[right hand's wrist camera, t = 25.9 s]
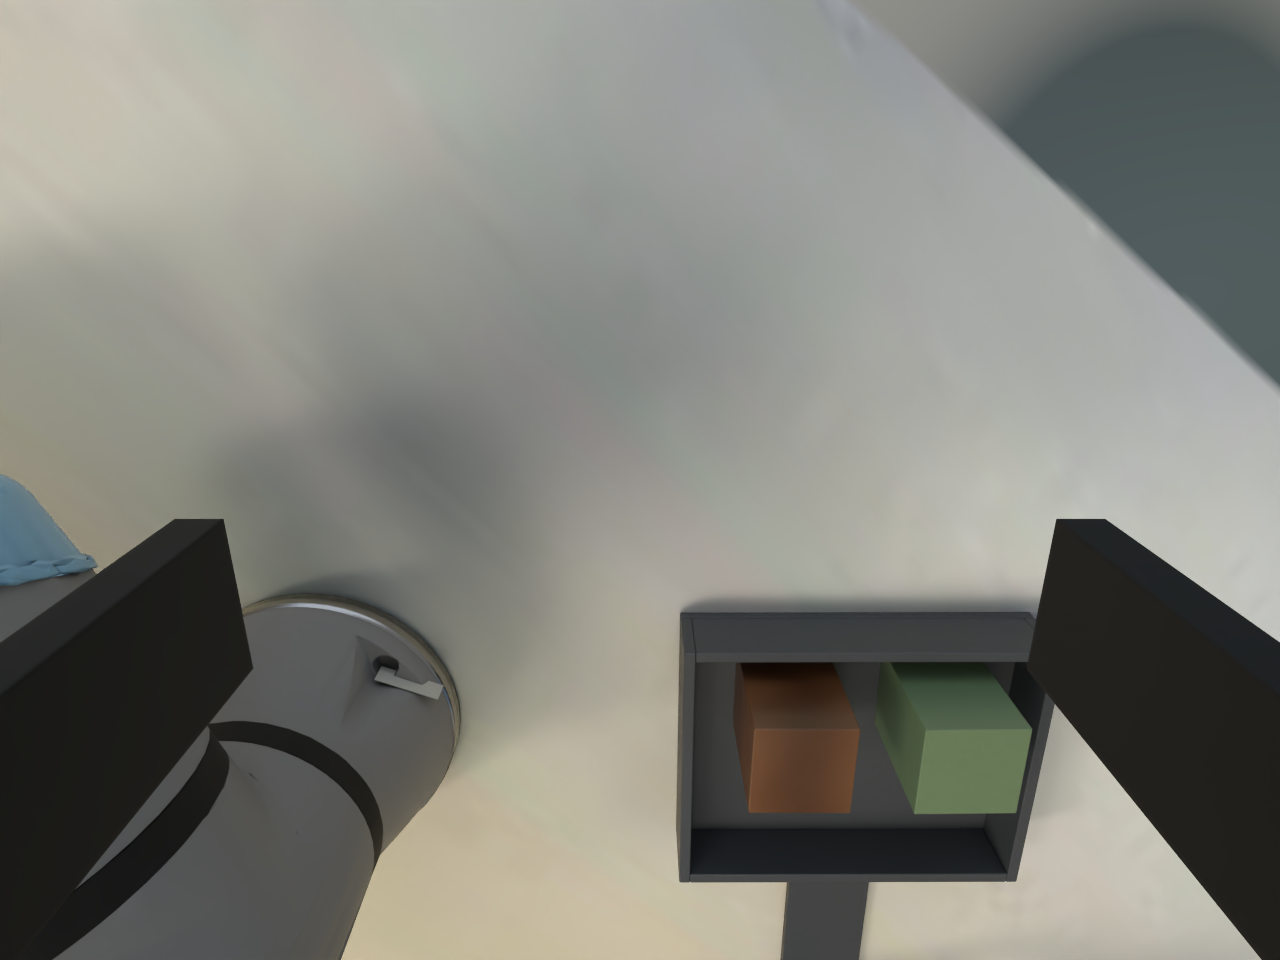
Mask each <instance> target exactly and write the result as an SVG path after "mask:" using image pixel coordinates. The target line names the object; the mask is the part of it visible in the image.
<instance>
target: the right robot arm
mask: <svg viewBox="0 0 1280 960" xmlns="http://www.w3.org/2000/svg"><path fill="white" fill-rule="evenodd" d="M96 567H98V566H97V564H96V562H95V560H94V559H93V557H92V556H89V555H85V554H82V553H80V551H79V550H78V549H77V548H76V547H75V545H74V544H73V543H72V542H71V541H70V539H69V538H68V537H67V536H66V535H65V533H64V532H63V531H62V530H61V529H60V527H59V526H58V525H57V524H56V523H55V521H54V520H53V519H52V518H51V517H50V515H49V514H48V513H47V512H46V510H45V509H44V508H43V507H42V506H41V504H40V503H39V502H38V501H37V499H36V498H35V497H34V496H33V495H32V494H31V493H30V492H29V491H28V490H27V489H26V488H25V487H24V486H23V485H21V484H20V483H18V482H17V481H15V480H13V479H11V478H9V477H7V476H4V475H1V474H0V960H341V958H342V955H343V952H344V949H345V947H346V944H347V941H348V939H349V936H350V933H351V930H352V928H353V925H354V922H355V920H356V917H357V914H358V911H359V909H360V906H361V903H362V901H363V898H364V895H365V892H366V890H367V887H368V884H369V882H370V879H371V876H372V874H373V871H374V868H375V866H376V863H377V861H378V858H379V856H380V854H381V853H382V852H383V851H384V850H385V849H386V848H387V847H388V845H389V844H390V843H391V842H392V841H393V840H394V839H395V838H396V837H397V835H398V834H399V833H400V832H401V831H402V830H403V829H404V827H405V826H406V825H407V824H408V823H409V822H410V820H411V819H412V818H413V817H414V816H415V814H416V813H417V812H418V811H419V810H420V809H421V808H423V807H424V806H425V805H426V804H427V802H428V801H429V800H430V799H431V797H432V796H433V795H434V793H435V792H436V790H437V788H438V787H439V785H440V783H441V782H442V780H443V778H444V777H445V774H446V772H447V770H448V768H449V765H450V762H451V759H452V756H453V753H454V750H455V747H456V744H457V740H458V735H459V727H460V711H459V705H458V699H457V696H456V692H455V689H454V686H453V683H452V681H451V678H450V677H449V675H448V673H447V671H446V669H445V667H444V666H443V664H442V663H441V661H440V659H439V658H438V657H437V655H436V654H435V653H434V652H433V650H432V649H431V648H430V647H429V646H428V645H427V644H426V643H425V642H424V641H423V640H422V639H421V638H420V637H419V636H418V635H417V634H416V633H415V632H413V631H412V630H411V629H410V628H408V627H407V626H405V625H404V624H403V623H401V622H400V621H398V620H397V619H395V618H393V617H392V616H390V615H388V614H386V613H384V612H382V611H380V610H378V609H376V608H374V607H371V606H369V605H366V604H364V603H360V602H357V601H354V600H351V599H347V598H342V597H337V596H331V595H323V594H292V595H285V596H279V597H274V598H270V599H266V600H263V601H260V602H257V603H255V604H252V605H250V606H248V607H246V608H244V609H241V604H240V599H239V594H238V589H237V584H236V579H235V574H234V569H233V564H232V559H231V554H230V549H229V544H228V539H227V534H226V529H225V524H224V519H174V520H173V521H171V522H170V523H169V524H167V525H166V526H164V527H163V528H162V529H160V530H159V531H157V532H156V533H154V534H153V535H152V536H150V537H149V538H147V539H146V540H145V541H143V542H142V543H140V544H139V545H137V546H136V547H135V548H133V549H132V550H130V551H129V552H128V553H126V554H125V555H123V556H122V557H121V558H119V559H118V560H116V561H115V562H113V563H112V564H111V565H109V566H108V567H106V568H105V569H104V570H102V571H101V572H99V573H98V574H96V573H95V571H94V570H93V569H92V568H96ZM1027 670H1028V671H1029V672H1030V673H1031V675H1032V676H1033V677H1034V678H1035V680H1036V681H1037V682H1038V683H1039V685H1040V686H1041V687H1042V688H1043V690H1044V691H1045V692H1046V693H1047V694H1048V696H1049V697H1050V698H1051V699H1052V701H1053V702H1054V703H1055V704H1056V706H1057V707H1058V708H1059V709H1060V711H1061V712H1062V713H1063V714H1064V716H1065V717H1066V718H1067V719H1068V720H1069V722H1070V723H1071V724H1072V725H1073V727H1074V728H1075V729H1076V730H1077V732H1078V733H1079V734H1080V735H1081V737H1082V738H1083V739H1084V740H1085V742H1086V743H1087V744H1088V745H1089V746H1090V748H1091V749H1092V750H1093V751H1094V753H1095V754H1096V755H1097V756H1098V758H1099V759H1100V760H1101V761H1102V763H1103V764H1104V765H1105V766H1106V768H1107V769H1108V770H1109V771H1110V772H1111V774H1112V775H1113V776H1114V777H1115V779H1116V780H1117V781H1118V782H1119V784H1120V785H1121V786H1122V787H1123V789H1124V790H1125V791H1126V792H1127V793H1128V795H1129V796H1130V797H1131V798H1132V800H1133V801H1134V802H1135V803H1136V805H1137V806H1138V807H1139V808H1140V810H1141V811H1142V812H1143V813H1144V815H1145V816H1146V817H1147V818H1148V819H1149V821H1150V822H1151V823H1152V824H1153V826H1154V827H1155V828H1156V829H1157V831H1158V832H1159V833H1160V834H1161V836H1162V837H1163V838H1164V839H1165V841H1166V842H1167V843H1168V844H1169V845H1170V847H1171V848H1172V849H1173V850H1174V852H1175V853H1176V854H1177V855H1178V857H1179V858H1180V859H1181V860H1182V862H1183V863H1184V864H1185V865H1186V867H1187V868H1188V869H1189V870H1190V871H1191V873H1192V874H1193V875H1194V876H1195V878H1196V879H1197V880H1198V881H1199V883H1200V884H1201V885H1202V886H1203V888H1204V889H1205V890H1206V891H1207V893H1208V894H1209V895H1210V896H1211V897H1212V899H1213V900H1214V901H1215V902H1216V904H1217V905H1218V906H1219V907H1220V909H1221V910H1222V911H1223V912H1224V914H1225V915H1226V916H1227V917H1228V919H1229V920H1230V921H1231V922H1232V923H1233V925H1234V926H1235V927H1236V928H1237V930H1238V931H1239V932H1240V933H1241V935H1242V936H1243V937H1244V938H1245V940H1246V941H1247V942H1248V943H1249V944H1250V946H1251V947H1252V948H1253V949H1254V951H1255V952H1256V953H1257V954H1258V956H1259V957H1260V958H1261V959H1262V960H1280V642H1278V641H1277V640H1275V639H1274V638H1273V637H1271V636H1270V635H1268V634H1267V633H1266V632H1264V631H1263V630H1261V629H1260V628H1258V627H1257V626H1256V625H1254V624H1253V623H1251V622H1250V621H1249V620H1247V619H1246V618H1244V617H1243V616H1241V615H1240V614H1239V613H1237V612H1236V611H1234V610H1233V609H1232V608H1230V607H1229V606H1227V605H1226V604H1225V603H1223V602H1222V601H1220V600H1219V599H1217V598H1216V597H1215V596H1213V595H1212V594H1210V593H1209V592H1208V591H1206V590H1205V589H1203V588H1202V587H1200V586H1199V585H1198V584H1196V583H1195V582H1193V581H1192V580H1191V579H1189V578H1188V577H1186V576H1185V575H1184V574H1182V573H1181V572H1179V571H1178V570H1176V569H1175V568H1174V567H1172V566H1171V565H1169V564H1168V563H1167V562H1165V561H1164V560H1162V559H1161V558H1159V557H1158V556H1157V555H1155V554H1154V553H1152V552H1151V551H1150V550H1148V549H1147V548H1145V547H1144V546H1143V545H1141V544H1140V543H1138V542H1137V541H1135V540H1134V539H1133V538H1131V537H1130V536H1128V535H1127V534H1126V533H1124V532H1123V531H1121V530H1120V529H1118V528H1117V527H1116V526H1114V525H1113V524H1111V523H1110V522H1109V521H1107V520H1106V519H1056V524H1055V529H1054V534H1053V539H1052V544H1051V549H1050V554H1049V559H1048V564H1047V569H1046V574H1045V579H1044V584H1043V589H1042V594H1041V599H1040V604H1039V609H1038V614H1037V619H1036V624H1035V629H1034V634H1033V639H1032V644H1031V649H1030V654H1029V659H1028V664H1027Z"/></svg>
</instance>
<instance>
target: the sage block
mask: <svg viewBox="0 0 1280 960" xmlns="http://www.w3.org/2000/svg"><path fill="white" fill-rule="evenodd" d="M875 726H876V728H877V730H878V732H879V735H880V737H881V739H882V741H883V744H884V746H885V748H886V751H887V753H888V755H889V757H890V760H891V762H892V764H893V766H894V769H895V771H896V773H897V776H898V778H899V780H900V782H901V785H902V787H903V789H904V791H905V794H906V796H907V798H908V800H909V803H910V805H911V807H912V810H913V812H914V814H976V813H1016V811H1017V805H1018V800H1019V795H1020V790H1021V785H1022V780H1023V775H1024V770H1025V765H1026V759H1027V754H1028V749H1029V744H1030V739H1031V734H1032V728H1031V727H1030V725H1029V724H1028V723H1027V721H1026V720H1025V718H1024V717H1023V716H1022V714H1021V713H1020V712H1019V710H1018V709H1017V707H1016V706H1015V705H1014V703H1013V702H1012V701H1011V699H1010V698H1009V696H1008V695H1007V694H1006V692H1005V691H1004V690H1003V688H1002V687H1001V685H1000V684H999V683H998V681H997V680H996V679H995V677H994V676H993V675H992V673H991V672H990V670H989V669H988V668H987V666H986V665H985V664H984V662H881V669H880V678H879V687H878V696H877V705H876V714H875Z"/></svg>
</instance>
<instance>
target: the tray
mask: <svg viewBox="0 0 1280 960" xmlns="http://www.w3.org/2000/svg"><path fill="white" fill-rule="evenodd" d="M1035 624H1036V620H1035V619H1034V617H1033V616H1032V615H1031V614H1030V613H1029V612H975V613H681V614H680V655H679V710H678V766H677V821H676V832H677V849H678V866H679V881H680V882H787V890H786V902H785V914H784V926H783V938H782V950H781V960H858V959H859V952H860V944H861V936H862V929H863V921H864V913H865V906H866V898H867V890H868V883H869V882H1005V881H1007V882H1015V881H1016V880H1017V875H1018V870H1019V866H1020V861H1021V857H1022V852H1023V847H1024V843H1025V838H1026V833H1027V829H1028V824H1029V820H1030V815H1031V810H1032V806H1033V801H1034V797H1035V792H1036V787H1037V783H1038V778H1039V773H1040V769H1041V764H1042V760H1043V755H1044V750H1045V746H1046V741H1047V737H1048V732H1049V727H1050V723H1051V718H1052V713H1053V709H1054V704H1055V703H1054V702H1053V701H1052V699H1051V698H1050V697H1049V696H1048V694H1047V693H1046V692H1045V691H1044V690H1043V688H1042V687H1041V686H1040V685H1039V683H1038V682H1037V681H1036V680H1035V678H1034V677H1033V676H1032V675H1031V673H1030V672H1029V671H1028V670H1027V664H1028V659H1029V654H1030V649H1031V644H1032V639H1033V634H1034V629H1035ZM749 662H833V664H834V666H835V669H836V671H837V674H838V676H839V678H840V681H841V683H842V686H843V688H844V691H845V693H846V695H847V698H848V700H849V703H850V705H851V708H852V710H853V713H854V715H855V717H856V720H857V722H858V725H859V727H860V738H859V746H858V754H857V762H856V770H855V778H854V786H853V794H852V802H851V810H850V813H750V812H749V811H748V806H747V801H746V795H745V789H744V783H743V778H742V772H741V766H740V761H739V755H738V749H737V744H736V738H735V732H734V727H733V708H734V690H735V672H736V663H749ZM881 662H984V664H985V665H986V666H987V668H988V669H989V670H990V672H991V673H992V675H993V676H994V677H995V679H996V680H997V681H998V683H999V684H1000V685H1001V687H1002V688H1003V690H1004V691H1005V692H1006V694H1007V695H1008V696H1009V698H1010V699H1011V701H1012V702H1013V703H1014V705H1015V706H1016V707H1017V709H1018V710H1019V712H1020V713H1021V714H1022V716H1023V717H1024V718H1025V720H1026V721H1027V723H1028V724H1029V725H1030V727H1031V728H1032V734H1031V739H1030V744H1029V749H1028V754H1027V759H1026V765H1025V770H1024V775H1023V780H1022V785H1021V790H1020V795H1019V800H1018V805H1017V811H1016V813H976V814H914V812H913V810H912V807H911V805H910V803H909V800H908V798H907V796H906V794H905V791H904V789H903V787H902V785H901V782H900V780H899V778H898V776H897V773H896V771H895V769H894V766H893V764H892V762H891V760H890V757H889V755H888V753H887V751H886V748H885V746H884V744H883V741H882V739H881V737H880V735H879V732H878V730H877V728H876V726H875V714H876V705H877V696H878V687H879V678H880V669H881Z"/></svg>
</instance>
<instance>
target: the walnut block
mask: <svg viewBox="0 0 1280 960" xmlns="http://www.w3.org/2000/svg"><path fill="white" fill-rule="evenodd" d="M733 727H734V732H735V738H736V744H737V749H738V755H739V761H740V766H741V772H742V778H743V783H744V789H745V795H746V801H747V806H748V811H749V812H750V813H850V810H851V802H852V794H853V786H854V778H855V770H856V762H857V754H858V746H859V738H860V727H859V725H858V722H857V720H856V717H855V715H854V713H853V710H852V708H851V705H850V703H849V700H848V698H847V695H846V693H845V691H844V688H843V686H842V683H841V681H840V678H839V676H838V674H837V671H836V669H835V666H834V664H833V662H749V663H736V672H735V690H734V708H733Z"/></svg>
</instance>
